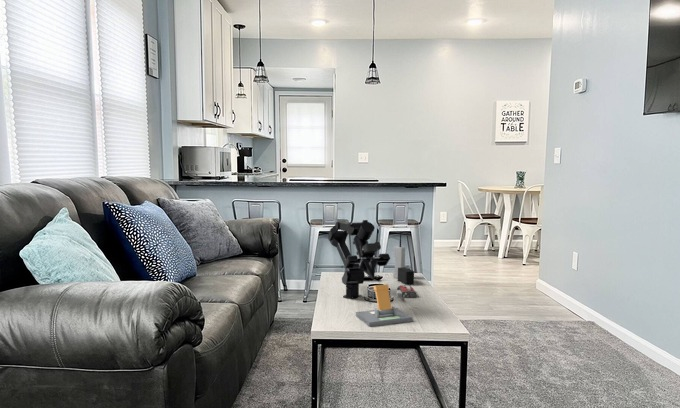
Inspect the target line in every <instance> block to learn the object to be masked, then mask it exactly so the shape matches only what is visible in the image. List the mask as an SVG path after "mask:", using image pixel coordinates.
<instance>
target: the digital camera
mask: <svg viewBox="0 0 680 408" xmlns="http://www.w3.org/2000/svg"><path fill="white" fill-rule="evenodd" d="M397 282H399V283H401V284H402V285H409V286H414V285H415V271H414V270H412V269H411V268H410V267H406V266H405V267H401V268H398V278H397Z"/></svg>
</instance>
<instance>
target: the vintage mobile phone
mask: <svg viewBox="0 0 680 408" xmlns="http://www.w3.org/2000/svg"><path fill="white" fill-rule="evenodd" d="M393 257H394V273H393V275H392V278H394V279H398V268H401V267H406V247H405V246H402V231H399V246H398V245H396V246H393Z"/></svg>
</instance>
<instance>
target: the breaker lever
mask: <svg viewBox="0 0 680 408" xmlns="http://www.w3.org/2000/svg"><path fill="white" fill-rule="evenodd" d="M373 290H374V292H375V296H376V304H377V309H379V315H387V314H393V309H392V303H391V298H390V293H389V291H390V285H389V284H377V285H373Z"/></svg>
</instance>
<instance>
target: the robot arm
mask: <svg viewBox="0 0 680 408" xmlns="http://www.w3.org/2000/svg"><path fill="white" fill-rule="evenodd" d="M375 228H376V227H375V225H374V224H373V223H371V222H369V221H368V219H363V220H362V221H361V222H360V221H359V222H349V221H345V220H344V221H343V220H342V221H341V220H339V221H336V222H335V225H334V226H332V227H331V228H330V229H329V232H328V235H327V239H328V241H329V242H330V244H331V246H333V247H335V248H336V250H337V252H338V254H339V256H340V258H341V261H342V263H343V265H344V268H345V269H344V272H343V275H342V277H341V283H342V284H343V285H345V294H344V295H343V296H342V298H347V299H351V300H357V299H359V298H360V297H362V296H363V294H360V284H361V285H362V284H364V281H365V274H366V275H367V276H368V277H369V278H370V279H372V280H374V279H375V277H376V276H375V274H376V273H375V272H376V271H375V269H376V266H378V267H385V266H387V265H388V263H389V262H390V260H391V256H390V254H389V253H387V252H386V253H379V255H378V256H375V255H376V252H378V251H379V250H381V248H382V247H381V243H380V241H375V242H371V243H369V240H370V239H371V237H372V236H373V233H374V231H375ZM348 235H349V236H354V238H353V241H352V244H353V245H354V246H355V249H356V252H355V253H356V255H352V254H351V251H350V248H349V247H348V245H347V243H346V241H347V238H348ZM374 256H375V257H374Z"/></svg>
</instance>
